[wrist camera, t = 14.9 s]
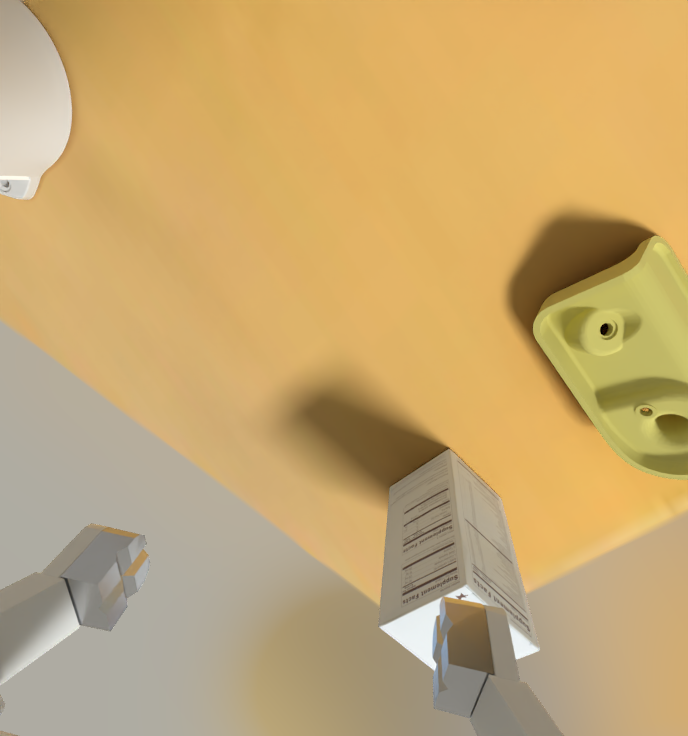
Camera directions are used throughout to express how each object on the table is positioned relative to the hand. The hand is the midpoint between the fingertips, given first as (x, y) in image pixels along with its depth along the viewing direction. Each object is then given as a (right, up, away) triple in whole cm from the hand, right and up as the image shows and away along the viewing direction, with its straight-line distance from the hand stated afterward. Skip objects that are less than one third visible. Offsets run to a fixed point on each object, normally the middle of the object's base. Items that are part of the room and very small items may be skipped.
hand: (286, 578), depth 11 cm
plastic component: (+28, +7, +27) cm, 39 cm away
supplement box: (+13, -9, +37) cm, 40 cm away
